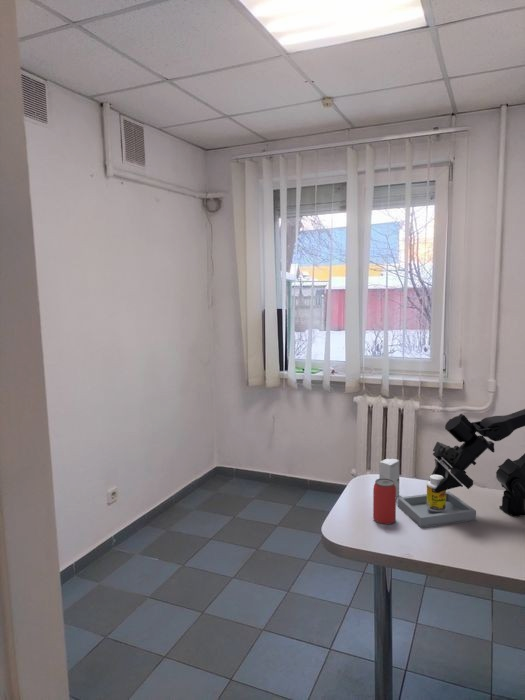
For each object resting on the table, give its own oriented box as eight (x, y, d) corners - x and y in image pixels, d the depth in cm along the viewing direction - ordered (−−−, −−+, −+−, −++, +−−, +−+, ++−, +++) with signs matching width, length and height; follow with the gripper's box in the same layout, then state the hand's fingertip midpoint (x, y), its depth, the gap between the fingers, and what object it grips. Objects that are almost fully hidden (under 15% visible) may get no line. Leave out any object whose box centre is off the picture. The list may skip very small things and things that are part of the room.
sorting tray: (448, 500, 158) (448, 491, 158) (475, 520, 144) (476, 510, 144) (397, 506, 154) (397, 497, 154) (420, 527, 141) (420, 517, 140)
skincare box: (390, 500, 159) (390, 465, 157) (378, 496, 162) (378, 461, 160) (400, 494, 163) (400, 460, 161) (388, 491, 166) (388, 457, 165)
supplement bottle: (429, 512, 147) (429, 480, 145) (424, 504, 152) (424, 473, 151) (448, 512, 146) (448, 480, 145) (442, 504, 152) (443, 473, 150)
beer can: (399, 519, 146) (400, 481, 145) (388, 527, 141) (389, 488, 140) (380, 512, 151) (380, 475, 149) (369, 520, 146) (369, 482, 144)
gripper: (439, 425, 155) (404, 459, 157) (463, 444, 137) (423, 482, 138) (463, 448, 156) (428, 481, 158) (490, 470, 138) (450, 508, 139)
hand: (432, 487), depth 148 cm, fingers closed on supplement bottle, 5 cm apart
